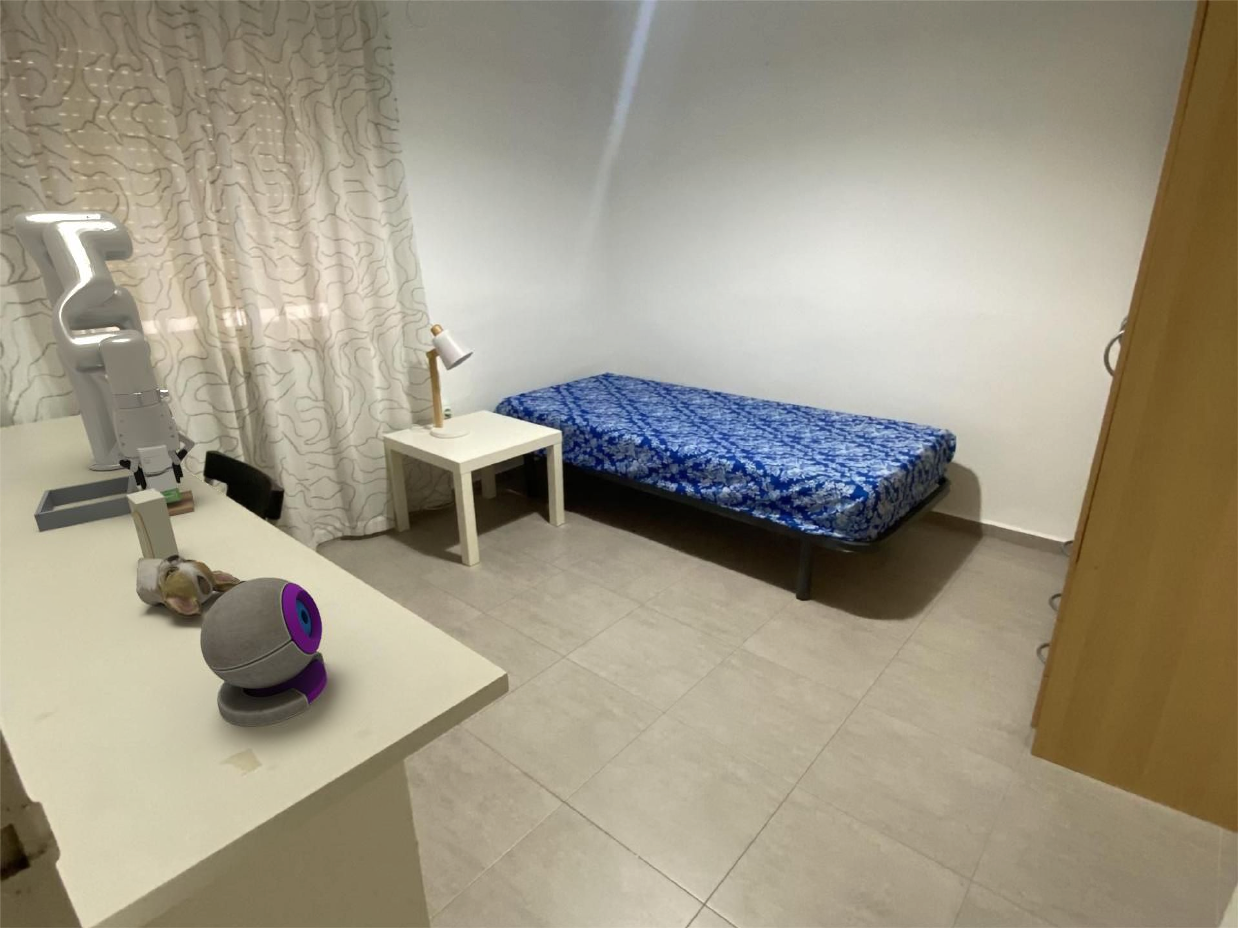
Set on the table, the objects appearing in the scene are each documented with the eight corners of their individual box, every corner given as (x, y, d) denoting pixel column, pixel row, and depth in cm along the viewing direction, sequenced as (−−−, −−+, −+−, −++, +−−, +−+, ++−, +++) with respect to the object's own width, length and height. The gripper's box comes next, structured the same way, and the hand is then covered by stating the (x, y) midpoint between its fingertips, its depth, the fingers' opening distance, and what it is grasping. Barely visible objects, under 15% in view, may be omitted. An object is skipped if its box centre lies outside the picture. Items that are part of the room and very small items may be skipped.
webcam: (321, 716, 80) (296, 606, 75) (202, 735, 78) (168, 622, 73) (339, 652, 92) (319, 553, 87) (237, 666, 90) (210, 565, 85)
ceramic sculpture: (166, 533, 109) (245, 547, 105) (178, 580, 112) (254, 595, 108) (103, 565, 99) (187, 582, 96) (118, 615, 102) (199, 633, 99)
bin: (50, 505, 145) (45, 490, 143) (137, 489, 152) (133, 474, 151) (39, 531, 132) (33, 515, 131) (135, 512, 140) (131, 496, 139)
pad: (143, 504, 144) (141, 499, 144) (192, 494, 148) (191, 490, 148) (142, 521, 135) (140, 517, 135) (194, 511, 140) (193, 506, 139)
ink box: (182, 500, 139) (167, 445, 135) (153, 506, 136) (137, 451, 132) (175, 488, 146) (161, 435, 142) (148, 494, 143) (133, 441, 139)
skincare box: (143, 558, 120) (124, 494, 116) (171, 549, 123) (154, 487, 119) (153, 569, 116) (134, 503, 112) (182, 559, 119) (164, 495, 115)
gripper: (187, 389, 141) (208, 470, 147) (86, 402, 133) (112, 488, 139) (189, 396, 135) (210, 481, 141) (82, 410, 127) (110, 500, 133)
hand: (161, 483), depth 140 cm, fingers closed on ink box, 5 cm apart
